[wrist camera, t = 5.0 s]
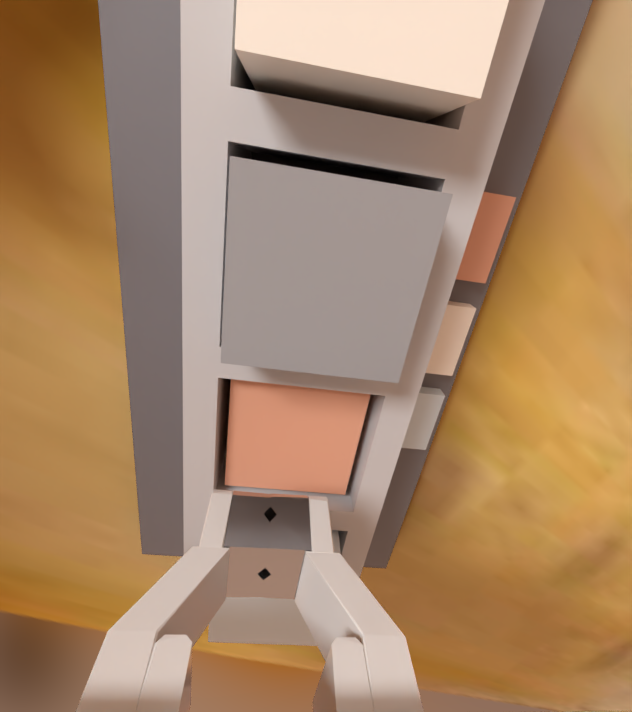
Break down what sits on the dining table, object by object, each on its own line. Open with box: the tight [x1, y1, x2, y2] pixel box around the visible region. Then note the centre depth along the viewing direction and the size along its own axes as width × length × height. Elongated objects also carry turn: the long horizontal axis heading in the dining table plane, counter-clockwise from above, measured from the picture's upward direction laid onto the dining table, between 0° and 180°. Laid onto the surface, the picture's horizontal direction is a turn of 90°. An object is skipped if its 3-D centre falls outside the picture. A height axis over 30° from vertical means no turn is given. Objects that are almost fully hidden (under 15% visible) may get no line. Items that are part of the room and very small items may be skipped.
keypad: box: [98, 0, 593, 578], centre depth 13 cm, size 14×30×6 cm, turn 171°
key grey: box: [221, 156, 453, 383], centre depth 10 cm, size 4×4×4 cm
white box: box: [208, 530, 341, 646], centre depth 15 cm, size 4×4×4 cm
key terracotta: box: [225, 379, 371, 495], centre depth 14 cm, size 4×4×4 cm
